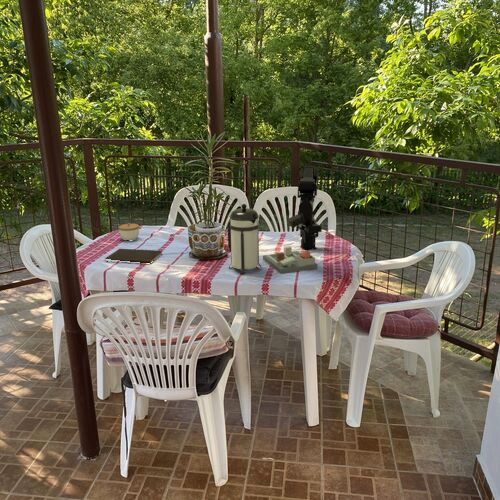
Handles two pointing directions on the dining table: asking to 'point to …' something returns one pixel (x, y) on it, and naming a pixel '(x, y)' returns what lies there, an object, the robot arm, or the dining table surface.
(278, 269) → the panel
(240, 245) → the coffee press
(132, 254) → the hardcover book
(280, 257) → the walnut knob
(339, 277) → the dining table surface
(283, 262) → the green rocker
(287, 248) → the offwhite knob
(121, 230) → the lidded jar
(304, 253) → the red button
